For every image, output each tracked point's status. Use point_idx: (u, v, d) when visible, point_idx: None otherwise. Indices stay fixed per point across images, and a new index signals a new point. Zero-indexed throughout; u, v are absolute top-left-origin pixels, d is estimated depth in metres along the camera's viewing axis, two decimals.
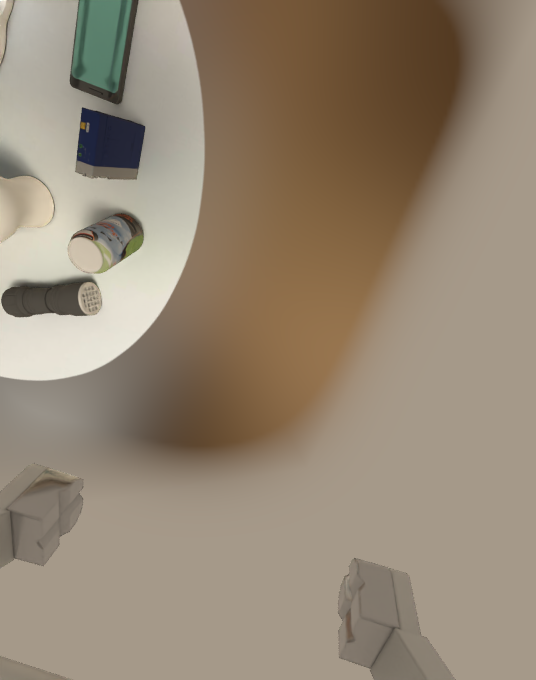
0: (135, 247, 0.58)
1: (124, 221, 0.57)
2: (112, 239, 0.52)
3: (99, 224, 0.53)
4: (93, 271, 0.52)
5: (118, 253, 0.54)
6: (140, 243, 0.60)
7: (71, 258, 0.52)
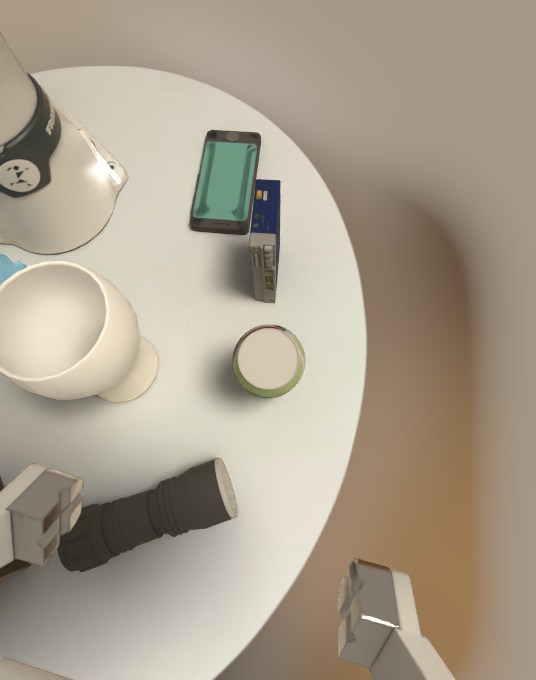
0: None
1: None
2: None
3: None
4: (282, 383, 0.30)
5: None
6: None
7: (243, 370, 0.31)
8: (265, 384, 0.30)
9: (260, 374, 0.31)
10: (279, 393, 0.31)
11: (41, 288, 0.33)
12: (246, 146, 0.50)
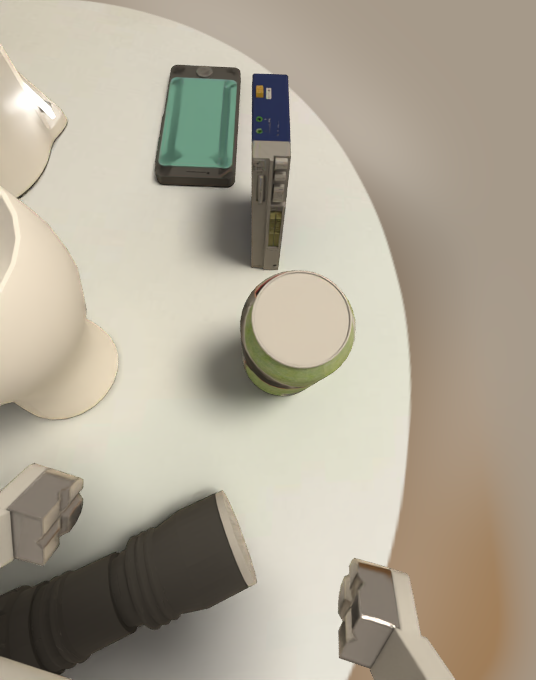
0: None
1: None
2: None
3: None
4: (329, 356, 0.18)
5: None
6: None
7: (262, 340, 0.18)
8: (300, 360, 0.18)
9: (291, 344, 0.18)
10: (321, 375, 0.19)
11: None
12: (223, 82, 0.40)
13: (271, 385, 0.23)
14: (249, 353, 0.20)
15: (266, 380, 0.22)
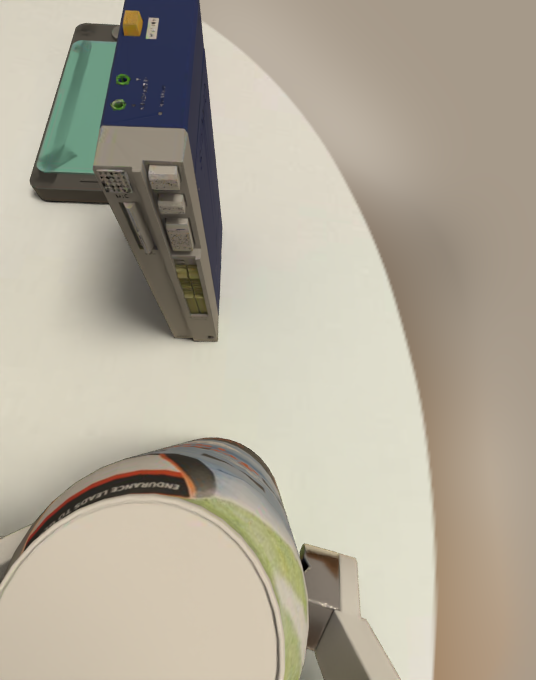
0: None
1: (229, 444, 0.15)
2: (259, 482, 0.09)
3: (163, 448, 0.11)
4: None
5: None
6: None
7: None
8: None
9: None
10: None
11: None
12: None
13: None
14: None
15: None
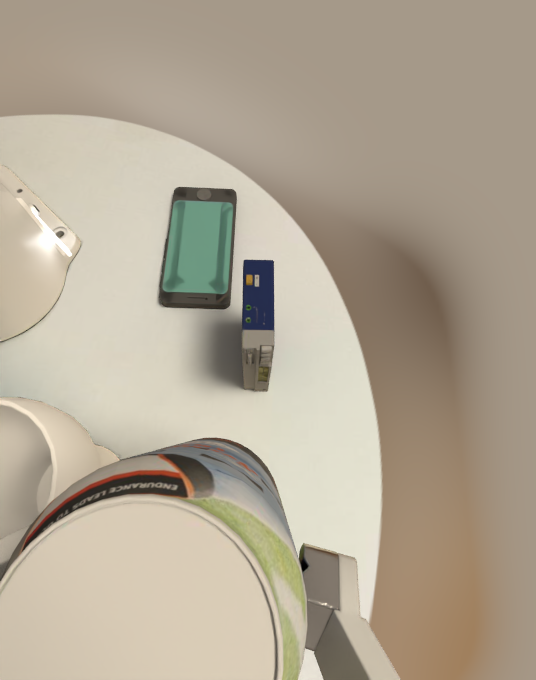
0: None
1: (228, 444, 0.15)
2: (257, 482, 0.09)
3: None
4: None
5: None
6: None
7: None
8: None
9: None
10: None
11: None
12: (220, 205, 0.44)
13: None
14: None
15: None
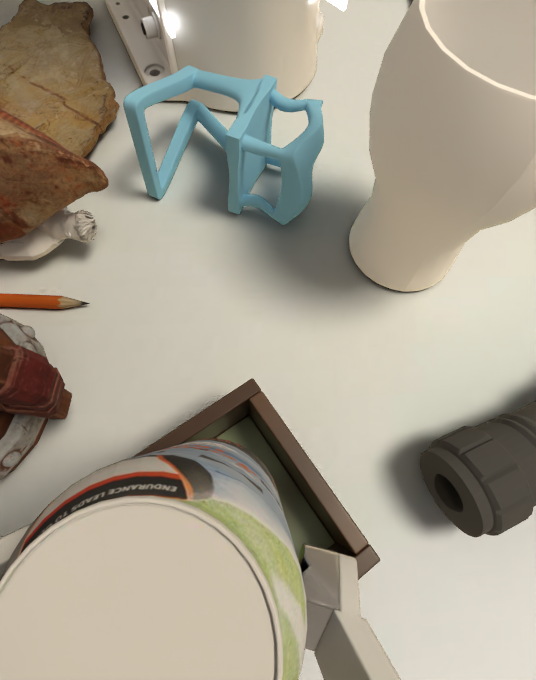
0: None
1: (228, 444, 0.15)
2: (257, 483, 0.09)
3: None
4: None
5: None
6: None
7: None
8: None
9: None
10: None
11: None
12: None
13: None
14: None
15: None
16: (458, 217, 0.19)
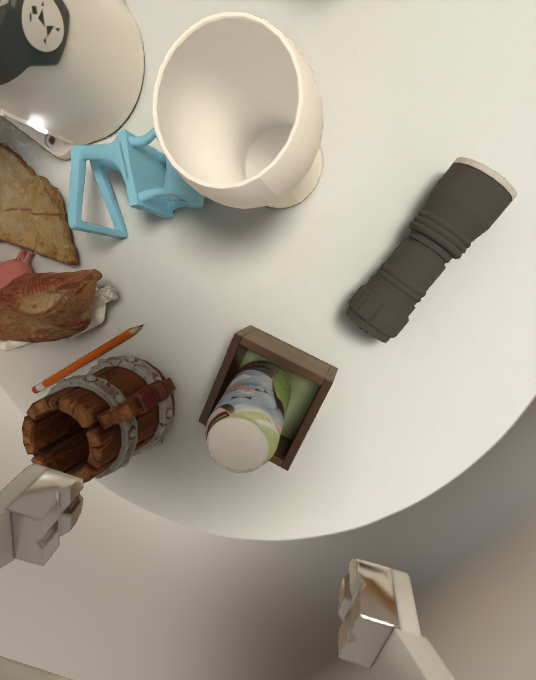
0: (286, 388, 0.37)
1: (249, 370, 0.37)
2: (250, 395, 0.32)
3: (224, 394, 0.34)
4: (263, 458, 0.30)
5: (272, 406, 0.32)
6: (287, 380, 0.38)
7: (225, 466, 0.31)
8: (251, 466, 0.30)
9: (241, 461, 0.30)
10: (269, 458, 0.31)
11: (177, 107, 0.27)
12: None
13: None
14: None
15: None
16: None
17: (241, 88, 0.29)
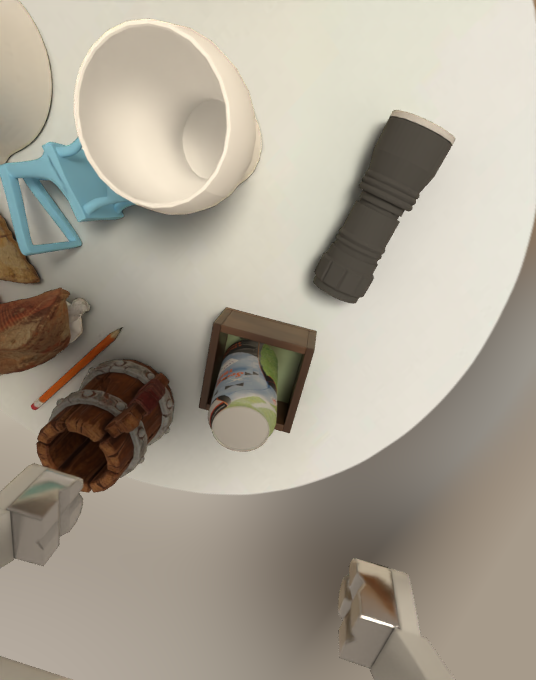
0: (272, 362, 0.39)
1: (235, 353, 0.39)
2: (242, 381, 0.34)
3: (217, 383, 0.36)
4: (266, 435, 0.33)
5: (264, 386, 0.34)
6: (272, 353, 0.41)
7: (234, 448, 0.34)
8: (256, 444, 0.34)
9: (246, 441, 0.33)
10: (271, 433, 0.34)
11: (101, 121, 0.26)
12: None
13: None
14: None
15: None
16: None
17: (161, 81, 0.28)
